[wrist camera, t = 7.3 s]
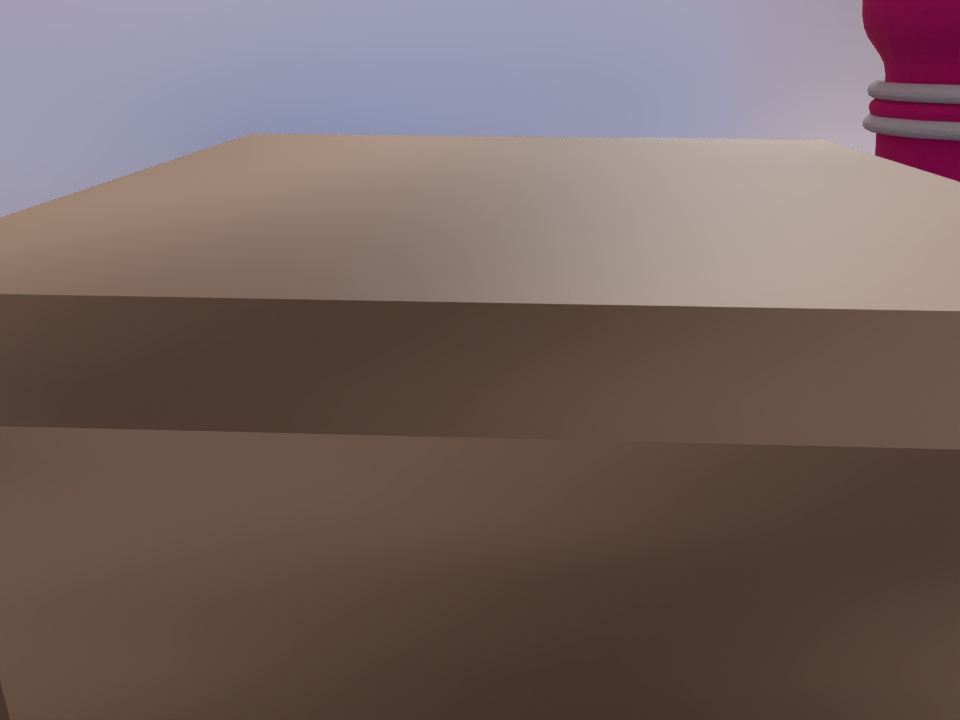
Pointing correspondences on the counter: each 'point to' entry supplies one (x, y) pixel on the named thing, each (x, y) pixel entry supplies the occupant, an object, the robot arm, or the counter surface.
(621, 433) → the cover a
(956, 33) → the pepper mill
